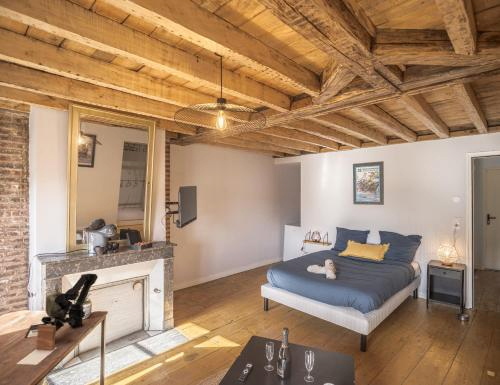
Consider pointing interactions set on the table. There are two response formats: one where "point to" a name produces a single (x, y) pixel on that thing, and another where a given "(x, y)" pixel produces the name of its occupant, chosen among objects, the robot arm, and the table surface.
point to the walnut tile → (46, 337)
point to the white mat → (35, 357)
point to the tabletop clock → (52, 302)
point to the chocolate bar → (33, 330)
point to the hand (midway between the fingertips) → (51, 335)
